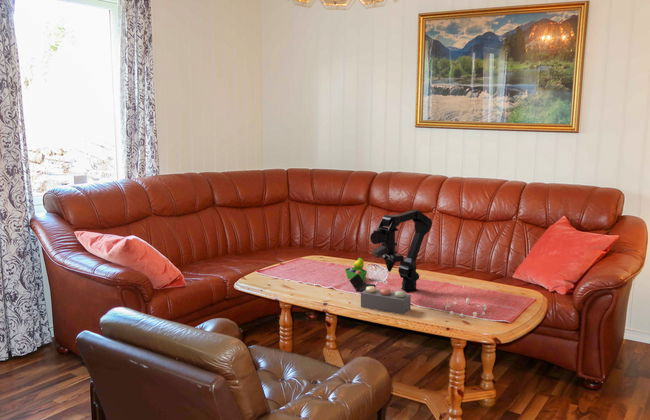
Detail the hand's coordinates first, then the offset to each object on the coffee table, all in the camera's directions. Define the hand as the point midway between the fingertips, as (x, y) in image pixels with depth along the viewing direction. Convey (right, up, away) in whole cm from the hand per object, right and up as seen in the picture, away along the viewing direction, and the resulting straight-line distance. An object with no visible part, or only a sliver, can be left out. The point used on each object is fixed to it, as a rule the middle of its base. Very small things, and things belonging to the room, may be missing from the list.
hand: (389, 271), depth 286 cm
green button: (+3, -12, -18) cm, 22 cm away
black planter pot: (-12, -11, +16) cm, 23 cm away
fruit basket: (-14, -8, +32) cm, 36 cm away
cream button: (-10, -11, -10) cm, 18 cm away
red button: (-3, -11, -14) cm, 18 cm away
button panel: (-3, -16, -13) cm, 21 cm away
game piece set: (+33, -17, -18) cm, 41 cm away
